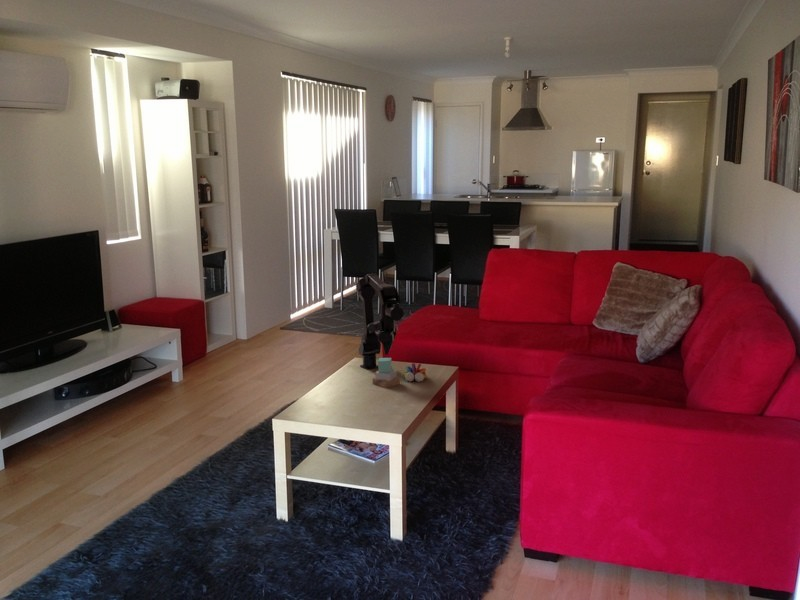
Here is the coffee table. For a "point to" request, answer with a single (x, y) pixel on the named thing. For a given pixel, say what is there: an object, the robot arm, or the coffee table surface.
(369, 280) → the robot arm
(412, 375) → the rainbow segmented toy
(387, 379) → the tower mid
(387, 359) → the teal cube
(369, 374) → the coffee table surface
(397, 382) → the tower base
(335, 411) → the coffee table surface
